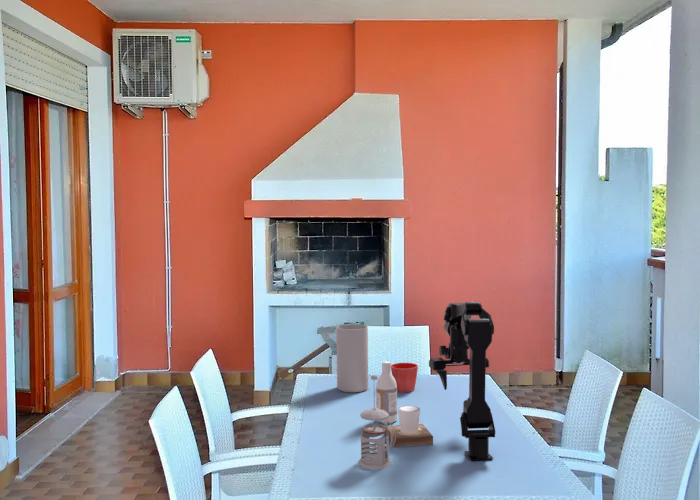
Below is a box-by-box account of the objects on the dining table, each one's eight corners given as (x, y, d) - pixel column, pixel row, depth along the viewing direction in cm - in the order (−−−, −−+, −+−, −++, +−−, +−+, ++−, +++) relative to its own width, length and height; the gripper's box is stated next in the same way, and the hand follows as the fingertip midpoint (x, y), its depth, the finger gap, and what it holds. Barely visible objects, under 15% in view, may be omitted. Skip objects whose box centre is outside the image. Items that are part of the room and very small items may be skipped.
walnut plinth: (433, 444, 200) (433, 435, 199) (394, 447, 198) (394, 438, 198) (422, 431, 211) (422, 423, 211) (386, 433, 210) (386, 425, 209)
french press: (371, 453, 193) (370, 369, 191) (404, 462, 185) (403, 374, 184) (350, 463, 185) (349, 375, 184) (383, 473, 178) (382, 382, 176)
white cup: (419, 434, 200) (419, 412, 200) (396, 433, 202) (396, 411, 201) (421, 427, 207) (421, 405, 207) (399, 426, 208) (399, 404, 208)
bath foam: (373, 418, 225) (373, 360, 224) (392, 416, 227) (392, 359, 226) (380, 424, 219) (380, 365, 217) (400, 422, 221) (399, 363, 219)
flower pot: (386, 388, 264) (385, 364, 264) (409, 384, 269) (409, 361, 268) (398, 394, 255) (398, 369, 254) (423, 391, 259) (423, 366, 259)
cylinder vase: (332, 391, 259) (332, 328, 258) (342, 383, 271) (341, 323, 270) (363, 394, 256) (362, 330, 254) (371, 385, 268) (371, 324, 266)
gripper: (477, 335, 223) (477, 380, 224) (423, 337, 220) (424, 384, 221) (489, 341, 212) (489, 389, 213) (434, 344, 209) (434, 393, 210)
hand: (458, 388), depth 214 cm, fingers open, 9 cm apart
